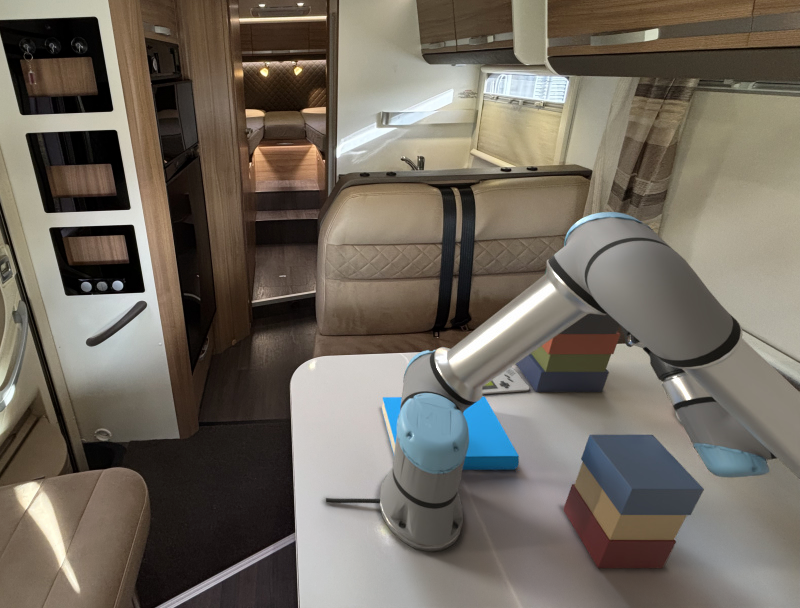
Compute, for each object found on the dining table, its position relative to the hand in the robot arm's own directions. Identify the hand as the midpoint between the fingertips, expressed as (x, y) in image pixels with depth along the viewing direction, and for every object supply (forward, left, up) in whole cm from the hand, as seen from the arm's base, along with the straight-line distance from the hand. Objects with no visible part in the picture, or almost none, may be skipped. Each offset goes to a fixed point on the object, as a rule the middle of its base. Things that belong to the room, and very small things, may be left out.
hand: (622, 268), depth 91 cm
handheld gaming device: (-18, +8, -38) cm, 43 cm away
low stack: (-14, -31, -38) cm, 51 cm away
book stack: (0, +10, -38) cm, 39 cm away
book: (-37, -10, -38) cm, 54 cm away
